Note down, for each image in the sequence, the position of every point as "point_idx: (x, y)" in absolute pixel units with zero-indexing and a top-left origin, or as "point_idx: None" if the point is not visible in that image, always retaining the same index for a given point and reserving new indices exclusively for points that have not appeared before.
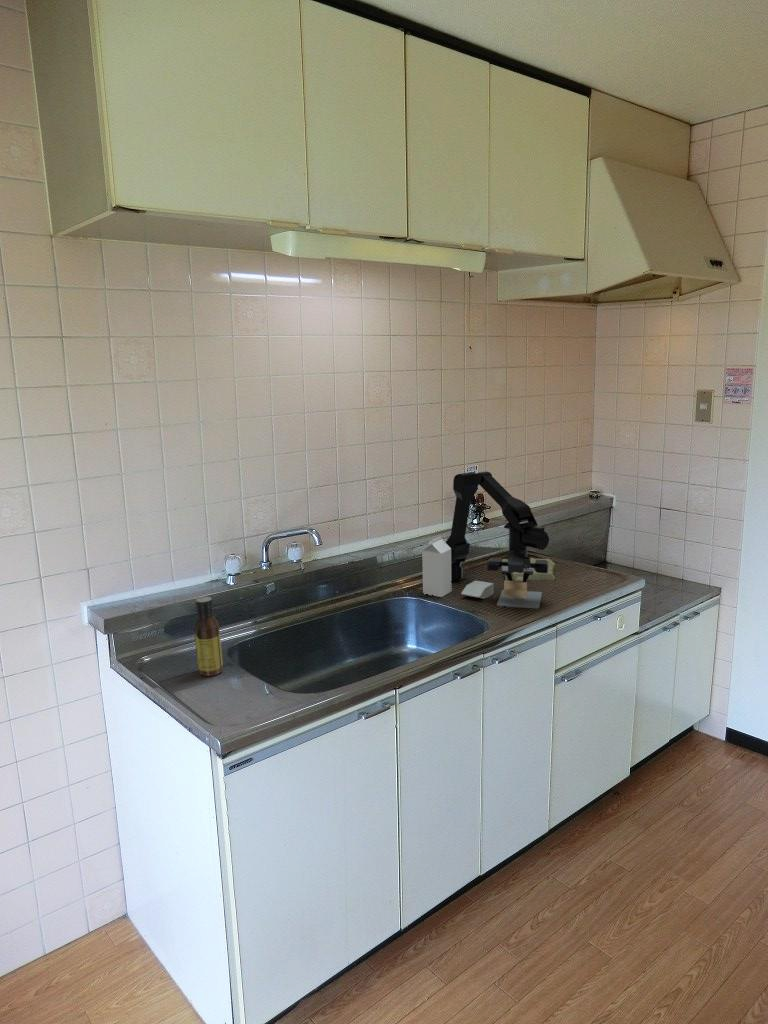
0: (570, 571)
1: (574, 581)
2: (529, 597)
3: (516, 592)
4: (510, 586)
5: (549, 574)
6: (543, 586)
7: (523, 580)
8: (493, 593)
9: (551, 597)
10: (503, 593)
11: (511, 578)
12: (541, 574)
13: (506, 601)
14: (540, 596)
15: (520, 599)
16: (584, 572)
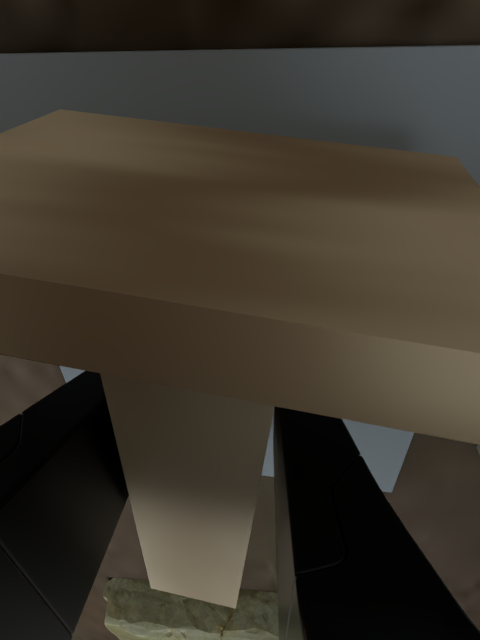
0: (84, 622)
1: None
2: None
3: (197, 159)
4: (333, 232)
5: (120, 613)
6: (132, 529)
7: (26, 456)
8: (477, 449)
9: (13, 387)
10: (389, 431)
11: (307, 531)
12: (157, 618)
13: None
14: (69, 379)
15: None
16: None
